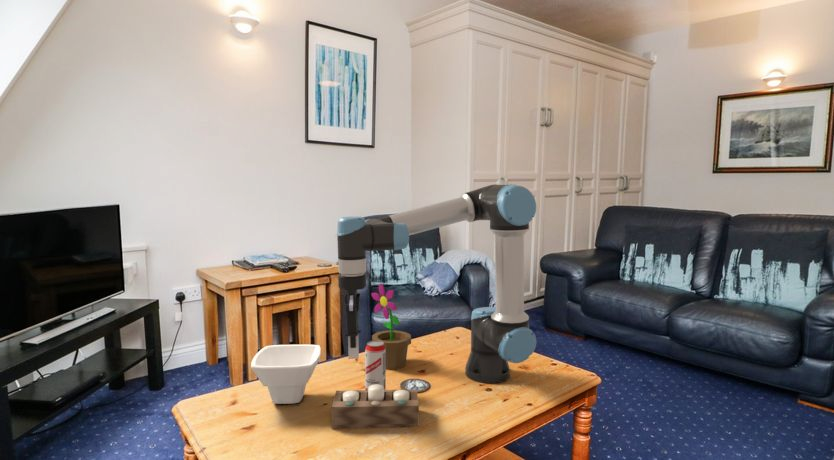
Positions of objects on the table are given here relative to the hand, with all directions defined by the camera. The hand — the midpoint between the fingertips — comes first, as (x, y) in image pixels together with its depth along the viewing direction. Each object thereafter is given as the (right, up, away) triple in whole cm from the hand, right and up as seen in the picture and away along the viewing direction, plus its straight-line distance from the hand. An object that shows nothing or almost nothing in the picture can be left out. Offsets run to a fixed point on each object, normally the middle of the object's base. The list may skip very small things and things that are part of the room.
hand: (353, 357), depth 132 cm
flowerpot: (+8, -13, +40) cm, 43 cm away
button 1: (-1, -15, 0) cm, 15 cm away
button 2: (+13, -15, +1) cm, 20 cm away
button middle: (+6, -13, +1) cm, 15 cm away
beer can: (+5, -16, +16) cm, 23 cm away
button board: (+6, -17, 0) cm, 18 cm away
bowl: (-21, -16, +11) cm, 29 cm away
